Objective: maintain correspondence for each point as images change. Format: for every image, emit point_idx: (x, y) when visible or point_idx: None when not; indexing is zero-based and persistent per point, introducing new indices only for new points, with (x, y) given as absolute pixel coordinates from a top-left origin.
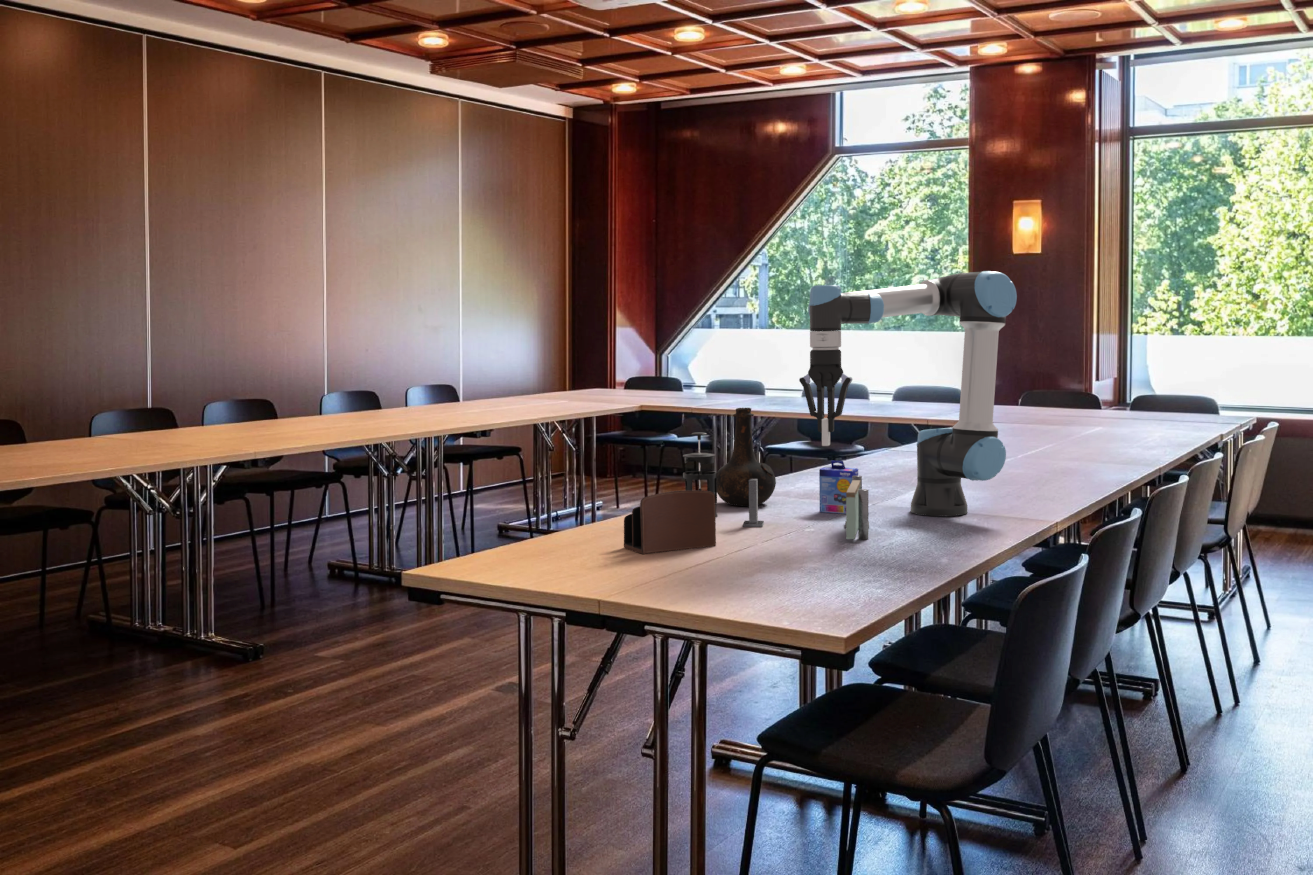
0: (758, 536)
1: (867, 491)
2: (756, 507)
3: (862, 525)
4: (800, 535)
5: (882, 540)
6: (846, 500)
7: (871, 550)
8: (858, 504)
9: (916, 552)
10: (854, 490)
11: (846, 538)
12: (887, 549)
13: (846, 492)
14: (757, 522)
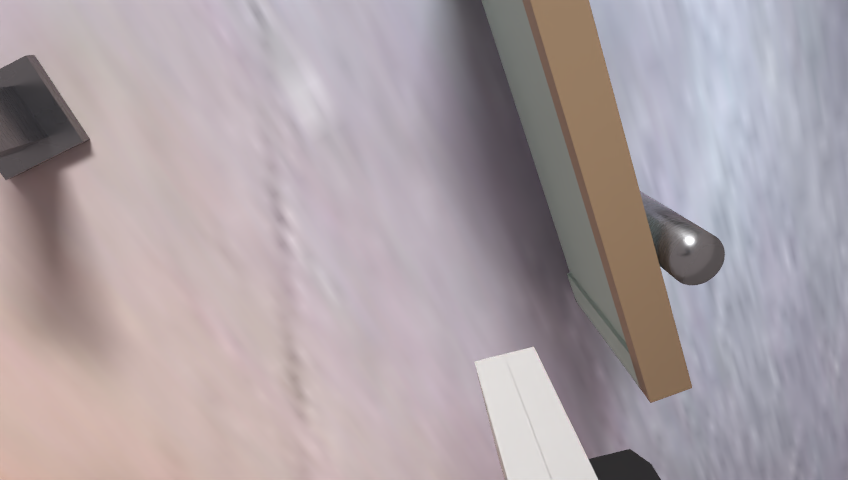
0: (218, 332)
1: (718, 260)
2: (3, 151)
3: None
4: (346, 237)
5: (675, 179)
6: (634, 379)
7: (691, 362)
8: None
9: (835, 323)
10: (669, 329)
11: (576, 300)
12: (735, 324)
13: (651, 402)
14: (36, 117)
